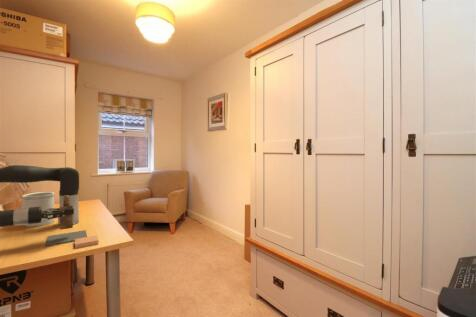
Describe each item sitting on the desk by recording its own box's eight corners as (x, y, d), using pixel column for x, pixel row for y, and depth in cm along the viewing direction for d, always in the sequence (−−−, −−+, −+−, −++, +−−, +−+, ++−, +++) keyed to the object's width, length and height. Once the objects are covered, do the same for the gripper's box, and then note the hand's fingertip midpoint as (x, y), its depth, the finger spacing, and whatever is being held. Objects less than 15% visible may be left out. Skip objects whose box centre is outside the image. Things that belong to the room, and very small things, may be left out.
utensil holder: (26, 228, 132) (25, 197, 131) (19, 223, 141) (19, 194, 140) (58, 222, 143) (58, 193, 143) (50, 218, 152) (50, 191, 152)
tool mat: (45, 246, 108) (45, 245, 108) (47, 237, 119) (47, 236, 119) (87, 239, 117) (87, 237, 117) (85, 231, 128) (85, 230, 128)
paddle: (60, 229, 115) (59, 196, 115) (60, 228, 117) (60, 195, 117) (72, 227, 118) (72, 195, 118) (72, 226, 120) (72, 194, 120)
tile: (75, 244, 106) (98, 240, 111) (74, 239, 112) (96, 235, 118) (75, 249, 106) (98, 244, 111) (74, 243, 113) (97, 239, 118)
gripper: (25, 211, 103) (74, 206, 113) (29, 204, 115) (73, 201, 125) (25, 228, 104) (74, 221, 114) (29, 220, 115) (73, 215, 125)
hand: (73, 211), depth 119 cm, fingers closed on paddle, 3 cm apart
